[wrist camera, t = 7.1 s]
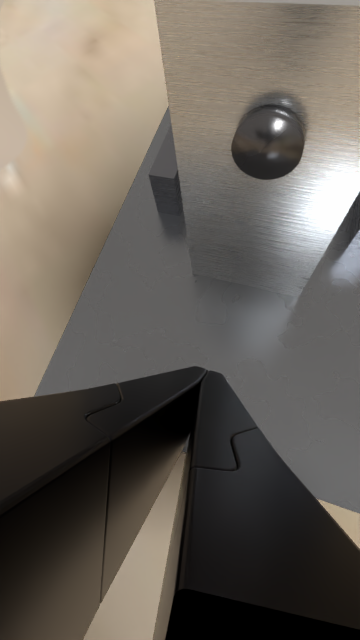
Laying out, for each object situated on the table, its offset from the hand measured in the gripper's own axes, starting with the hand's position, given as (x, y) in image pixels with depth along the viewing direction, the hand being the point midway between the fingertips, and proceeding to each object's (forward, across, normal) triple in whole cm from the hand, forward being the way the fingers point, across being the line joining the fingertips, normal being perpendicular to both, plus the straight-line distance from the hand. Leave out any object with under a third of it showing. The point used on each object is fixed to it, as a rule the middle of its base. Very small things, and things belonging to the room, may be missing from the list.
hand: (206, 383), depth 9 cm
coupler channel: (+14, 0, +4) cm, 15 cm away
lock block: (+15, 0, +6) cm, 16 cm away
